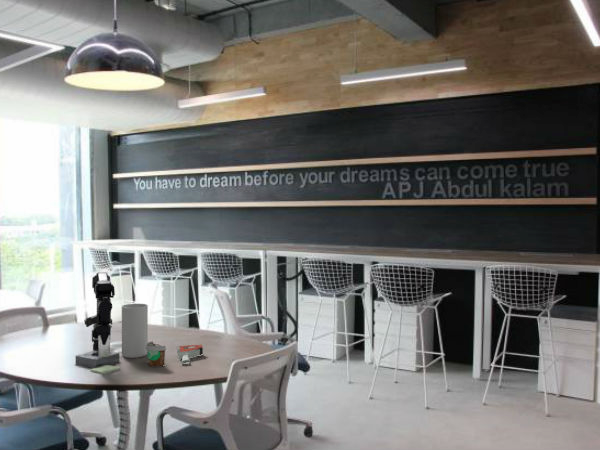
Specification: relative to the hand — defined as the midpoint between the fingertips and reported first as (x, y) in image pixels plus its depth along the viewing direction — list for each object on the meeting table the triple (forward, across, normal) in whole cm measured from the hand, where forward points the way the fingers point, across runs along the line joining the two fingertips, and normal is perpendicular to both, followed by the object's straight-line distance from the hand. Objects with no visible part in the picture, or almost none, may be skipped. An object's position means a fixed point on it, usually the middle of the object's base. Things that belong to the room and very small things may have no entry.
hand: (104, 343), depth 256 cm
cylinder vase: (+12, -24, +13) cm, 30 cm away
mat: (+12, 0, 0) cm, 12 cm away
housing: (+12, -14, -4) cm, 19 cm away
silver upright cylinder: (+6, 0, 0) cm, 6 cm away
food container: (+12, -2, +22) cm, 25 cm away
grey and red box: (+13, -11, +38) cm, 42 cm away
